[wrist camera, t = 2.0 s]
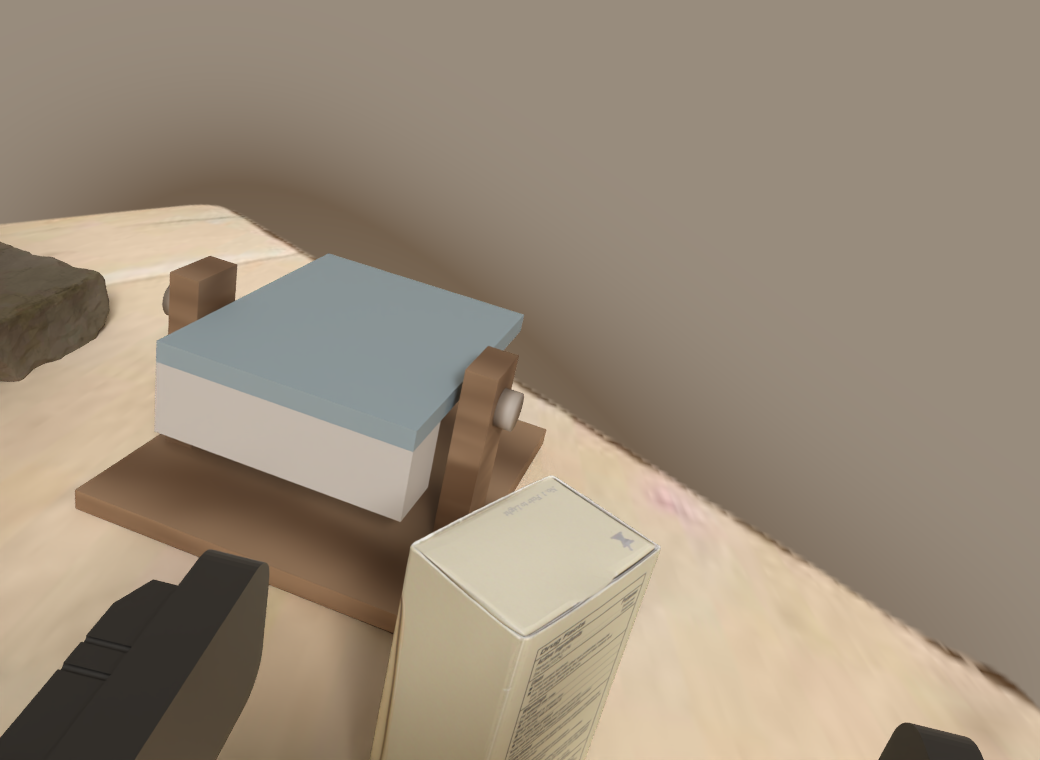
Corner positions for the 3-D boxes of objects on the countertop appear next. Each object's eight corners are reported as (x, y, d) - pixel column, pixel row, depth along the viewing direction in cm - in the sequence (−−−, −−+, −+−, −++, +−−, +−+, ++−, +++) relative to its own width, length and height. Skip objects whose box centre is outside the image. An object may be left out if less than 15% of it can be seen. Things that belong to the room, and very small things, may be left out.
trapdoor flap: (400, 522, 36) (416, 431, 34) (154, 431, 38) (156, 340, 36) (507, 386, 50) (523, 314, 48) (320, 324, 52) (328, 253, 50)
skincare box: (481, 737, 32) (553, 467, 27) (571, 820, 30) (670, 544, 25) (346, 837, 28) (401, 536, 22) (441, 945, 25) (527, 638, 20)
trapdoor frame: (428, 647, 36) (472, 444, 31) (69, 506, 39) (64, 302, 34) (547, 445, 53) (586, 294, 48) (290, 357, 56) (305, 208, 51)
